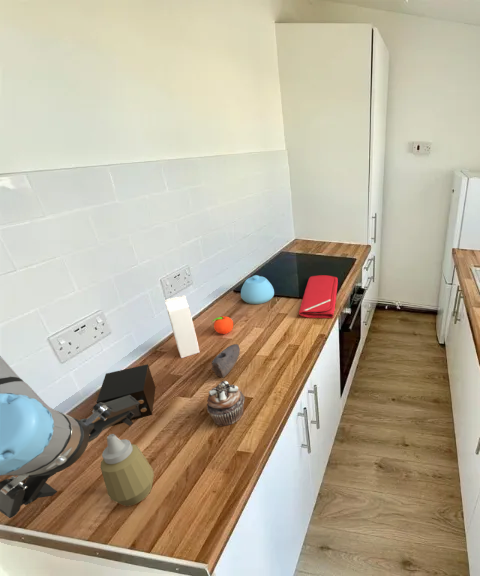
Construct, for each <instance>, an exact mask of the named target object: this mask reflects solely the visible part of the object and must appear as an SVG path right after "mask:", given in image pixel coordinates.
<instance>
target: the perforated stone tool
mask: <svg viewBox="0 0 480 576" xmlns="http://www.w3.org/2000/svg"><path fill="white" fill-rule="evenodd" d="M240 351H241V349H240V345H239V344H237V343H234V344H231V345H229V346H227V347H226V348H224V349H223V350H222V351H221V352H219V353H218V354H217V355H216V356H215V357H214V358H213V360H212V361H211V366H212V367H211V370H212V372H214V374H215V376H217V377H219V378H221V379H225V377H226V376H227V375H228V374H229V373H231V370H232V369H233V368H234V366H235V365H236V362H237V361H238V359H239V356H240Z"/></svg>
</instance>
